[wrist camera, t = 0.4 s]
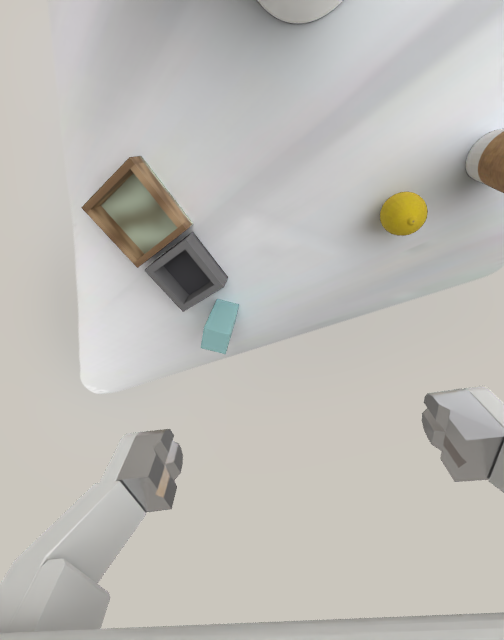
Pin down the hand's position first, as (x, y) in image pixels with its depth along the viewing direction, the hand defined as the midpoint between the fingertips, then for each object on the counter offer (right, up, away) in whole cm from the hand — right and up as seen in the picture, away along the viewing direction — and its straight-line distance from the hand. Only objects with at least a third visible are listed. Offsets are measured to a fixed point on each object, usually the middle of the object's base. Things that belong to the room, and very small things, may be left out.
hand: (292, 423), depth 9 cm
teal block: (-7, +5, +46) cm, 47 cm away
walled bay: (-20, +21, +37) cm, 47 cm away
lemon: (+20, +20, +33) cm, 43 cm away
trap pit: (-13, +13, +42) cm, 46 cm away
